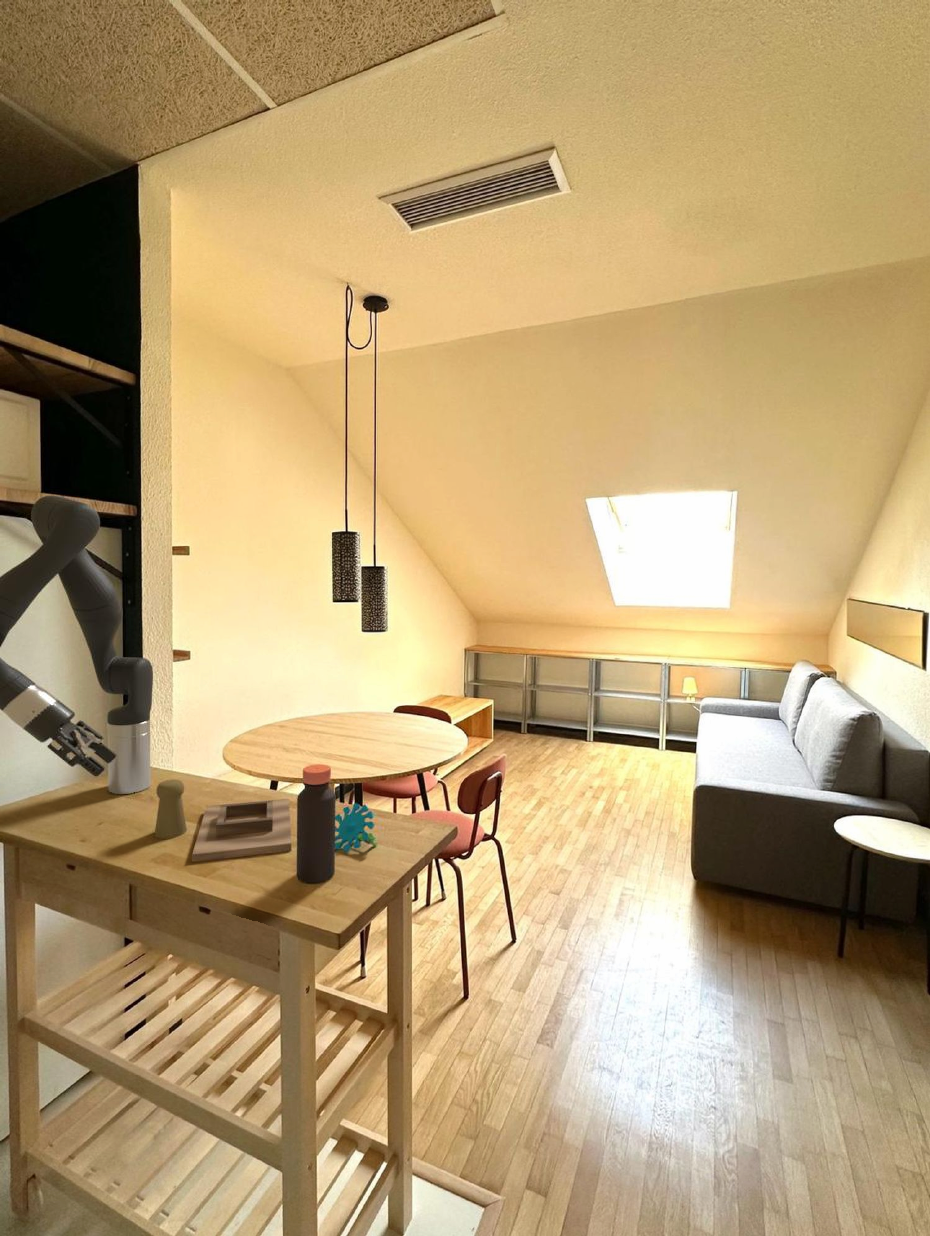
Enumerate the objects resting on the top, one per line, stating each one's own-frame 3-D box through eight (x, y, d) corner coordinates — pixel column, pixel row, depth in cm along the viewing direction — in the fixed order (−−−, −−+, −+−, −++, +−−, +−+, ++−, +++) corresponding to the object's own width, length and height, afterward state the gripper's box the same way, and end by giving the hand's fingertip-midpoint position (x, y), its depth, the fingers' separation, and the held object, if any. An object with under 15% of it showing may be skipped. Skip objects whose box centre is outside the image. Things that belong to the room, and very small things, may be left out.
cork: (175, 823, 124) (175, 774, 124) (192, 830, 121) (192, 780, 121) (148, 834, 119) (147, 782, 119) (165, 841, 116) (165, 788, 116)
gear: (318, 835, 117) (349, 794, 121) (333, 847, 121) (362, 807, 125) (352, 860, 110) (384, 816, 115) (366, 872, 114) (396, 828, 118)
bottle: (290, 872, 105) (291, 766, 104) (325, 862, 109) (326, 760, 108) (305, 889, 100) (306, 777, 99) (340, 877, 104) (342, 770, 103)
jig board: (206, 812, 131) (206, 795, 130) (288, 804, 136) (288, 788, 136) (192, 862, 108) (192, 841, 108) (291, 850, 114) (291, 831, 114)
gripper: (41, 706, 105) (112, 763, 110) (67, 692, 119) (130, 742, 123) (7, 736, 104) (81, 792, 108) (38, 718, 117) (102, 768, 122)
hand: (107, 766), depth 116 cm, fingers open, 8 cm apart
